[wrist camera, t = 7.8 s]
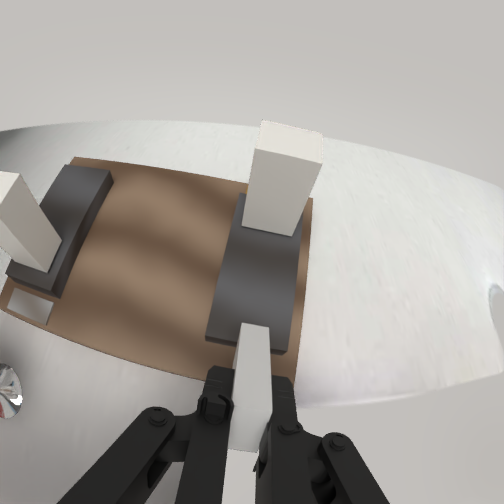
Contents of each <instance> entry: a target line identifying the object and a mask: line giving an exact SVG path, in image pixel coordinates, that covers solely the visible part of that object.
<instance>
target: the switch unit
mask: <svg viewBox="0 0 504 504" xmlns="http://www.w3.org/2000/svg"><path fill="white" fill-rule="evenodd" d="M248 185H249V184H246V183H241V182H236V181H231V180H226V179H221V178H216V177H210V176H205V175H199V174H193V173H188V172H182V171H176V170H170V169H163V168H157V167H151V166H144V165H137V164H130V163H122V162H115V161H107V160H99V159H90V158H81V157H74V158H73V159H72V161H71V162H70V164H69V165H66V164H65V165H64V167H63V168H62V170H61V171H60V173H59V174H58V176H57V177H56V179H55V180H54V182H53V184H52V185H51V187H50V188H49V190H48V192H47V193H46V195H45V197H44V198H43V200H42V202H41V203H40V205H39V206H40V208H41V210H42V211H43V213H44V214H45V216H46V217H47V219H48V220H49V222H50V223H51V225H52V226H53V228H54V229H55V231H56V232H57V234H58V235H59V237H60V238H61V240H62V241H61V243H60V245H59V248H58V250H57V252H56V254H55V256H54V259H53V261H52V263H51V265H50V268H49V270H48V272H47V273H46V272H43V271H40V270H37V269H34V268H32V267H29V266H26V265H23V264H20V263H17V262H15V261H14V260H13V259H11V261H10V263H9V266H8V268H7V270H6V273H5V274H7V275H8V278H7V280H6V282H5V285H4V287H3V290H2V293H1V295H0V309H1V310H3V311H4V312H6V313H8V314H10V315H13V316H15V317H17V318H19V319H21V320H23V321H25V322H27V323H30V324H32V325H34V326H36V327H39V328H41V329H43V330H45V331H48V332H50V333H53V334H55V335H57V336H60V337H62V338H65V339H67V340H70V341H73V342H75V343H78V344H80V345H83V346H86V347H89V348H91V349H94V350H97V351H100V352H103V353H106V354H109V355H112V356H115V357H118V358H121V359H124V360H127V361H130V362H134V363H137V364H140V365H144V366H147V367H151V368H154V369H158V370H161V371H165V372H169V373H173V374H177V375H181V376H185V377H189V378H193V379H197V380H202V381H206V377H207V373H208V370H209V369H210V368H212V367H213V366H214V365H216V366H221V367H226V368H231V369H232V368H233V361H234V356H235V352H236V347H237V343H238V338H239V333H240V329H241V324H242V323H247V324H252V325H258V326H263V327H269V340H270V363H271V375H276V376H283V377H288V378H289V380H290V381H291V382H292V384H293V388H294V381H295V374H296V367H297V360H298V352H299V344H300V336H301V328H302V319H303V310H304V301H305V291H306V281H307V270H308V259H309V247H310V235H311V221H312V205H313V198H308V200H307V202H306V205H305V207H304V209H303V212H302V214H301V216H300V219H299V221H298V223H297V226H296V228H295V230H294V233H293V235H292V236H287V235H282V234H278V233H273V232H268V231H264V230H259V229H254V228H250V227H245V226H242V220H243V214H244V208H245V202H246V196H247V190H248Z"/></svg>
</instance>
